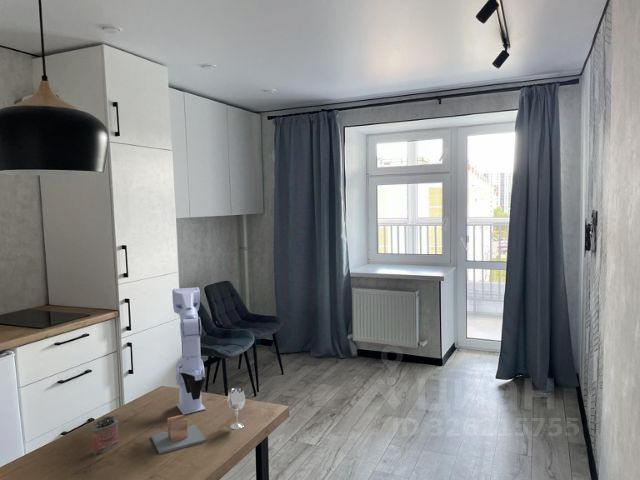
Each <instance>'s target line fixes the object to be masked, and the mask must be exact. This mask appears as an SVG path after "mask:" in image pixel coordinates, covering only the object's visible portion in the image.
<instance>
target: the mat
mask: <svg viewBox="0 0 640 480" xmlns="http://www.w3.org/2000/svg"><path fill="white" fill-rule="evenodd" d="M187 433H188V438H185V439H181V440H177V441H173V442H171V441H170V439H169V437H168V430H166V431H163V432H157V433H154V434H151V435H150V438H151V442H152V443H153V444H154V446H155V448H156V451H157V452H158V454H159V455H162V454H166V453H170V452H174V451H177V450H180V449H185V448H189V447H192V446H196V445H200V444H203V443H206V442H207V439H206V437H204V434H202V432H201V431H200V429H199V428H198V427H197V425H196V424H191V425H187Z"/></svg>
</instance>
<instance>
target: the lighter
mask: <svg viewBox="0 0 640 480" xmlns="http://www.w3.org/2000/svg"><path fill="white" fill-rule="evenodd" d="M93 425H94V427H92V428H91V434H92V446H93V447H92V455H93V456H98V455H102V454H104V453H107V452H109V451H112V450H114V449H115V448H116V447H118V446H120V440H119V427H118V426H119V420H118V419H115V415H114V414H110V415H106V414H105V415H103V416H102V418H101V417H100V418H97V419H95V420H94V421H93Z"/></svg>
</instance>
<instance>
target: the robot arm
mask: <svg viewBox="0 0 640 480" xmlns="http://www.w3.org/2000/svg"><path fill="white" fill-rule="evenodd" d="M200 302H201V291H200V288H199V287H198V286H197V287H182V288H173V289H172V307H173V308H172V309H173V310H174V311H173V313H175V314H178V316H179V318H180V321H179V331H180V337H181V338H180V340H181V345H182V346H181V348H182V351H181V352H182V358H181V359H179V360H178V361H177V362H176V364H175V381H176V382H175V383H176V385H177V386H179V387H178V402H179V403H177V404H176V407H177V408H178V409H179V411H180V412H181V413H182V414H181V415H183V414H184V415H189V414H192V413H196V412H201V411H204V410H206V407H205V406H204V404H203V403H202V388H203V385H204V383H205V381H206V377H205V375H206V373H205V366H204V361H203V359H202V358H201V356H202V354H201V335H202V321H201V317H200V316H199V314H198V311H199V310H200V307H201V306H200Z"/></svg>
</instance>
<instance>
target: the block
mask: <svg viewBox="0 0 640 480" xmlns="http://www.w3.org/2000/svg"><path fill="white" fill-rule="evenodd" d="M187 426H188V418H187V417H186V416H185V414H180V415H176V416H171V417H167V431H168V437H169V439H170V441H171V442H173V441H177V440H181V439H185V438H188V433H187Z"/></svg>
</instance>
